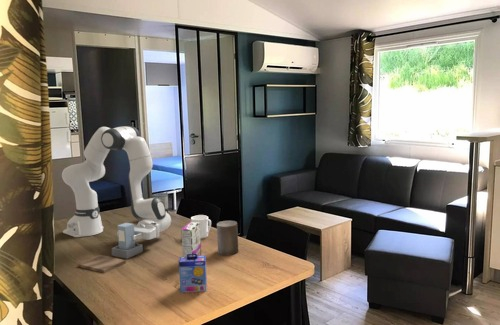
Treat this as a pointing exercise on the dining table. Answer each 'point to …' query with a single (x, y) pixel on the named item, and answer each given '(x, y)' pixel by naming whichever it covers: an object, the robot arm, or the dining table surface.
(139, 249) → the gray bin
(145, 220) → the robot arm
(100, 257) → the walnut board
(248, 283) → the dining table surface
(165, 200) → the milk frother
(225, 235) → the pillar candle
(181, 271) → the ink cartridge box
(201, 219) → the mug
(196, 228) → the candy bar box
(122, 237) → the slate box
